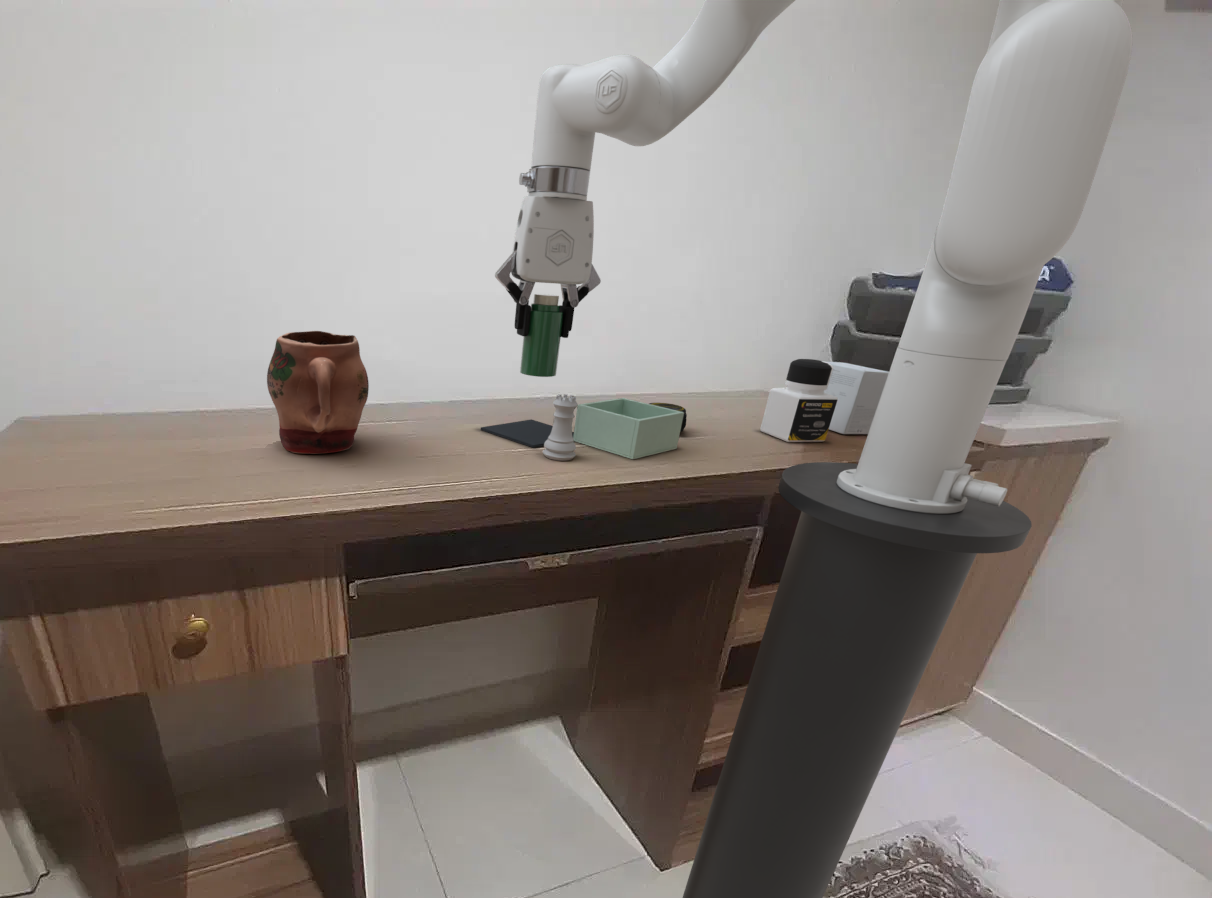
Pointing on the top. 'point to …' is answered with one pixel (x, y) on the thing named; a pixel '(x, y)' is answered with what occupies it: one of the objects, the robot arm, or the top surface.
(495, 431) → the mat
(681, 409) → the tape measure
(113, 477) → the top surface
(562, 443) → the rook chess piece
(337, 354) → the brown clay mug
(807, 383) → the medicine bottle
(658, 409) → the case
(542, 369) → the green bottle
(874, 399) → the cosmetics box
